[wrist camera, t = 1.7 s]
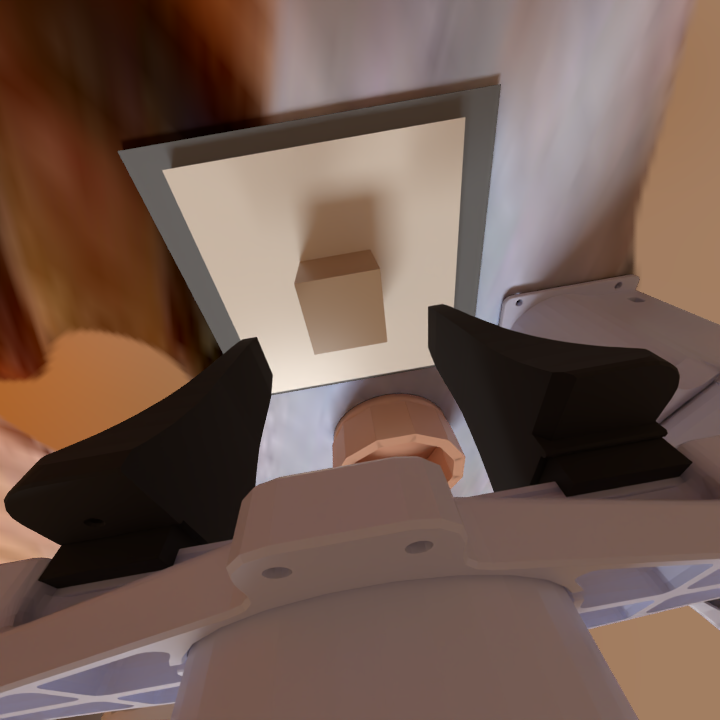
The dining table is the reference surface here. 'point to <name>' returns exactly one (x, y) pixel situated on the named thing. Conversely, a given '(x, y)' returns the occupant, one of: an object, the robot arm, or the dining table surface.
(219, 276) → the lid
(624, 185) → the dining table surface
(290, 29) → the dining table surface
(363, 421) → the bowl
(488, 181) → the mat
